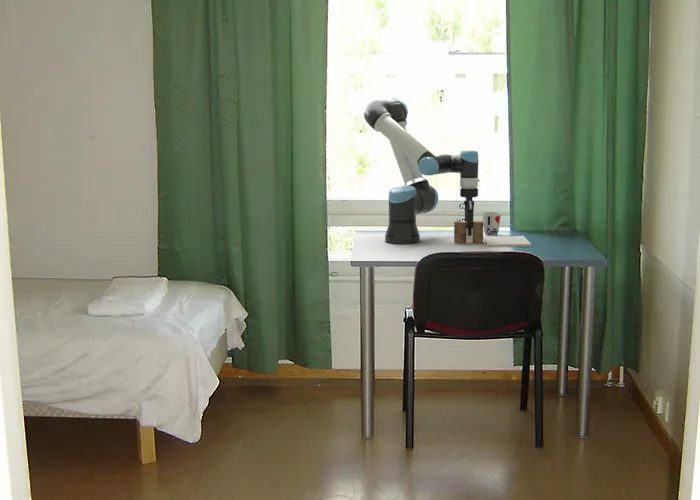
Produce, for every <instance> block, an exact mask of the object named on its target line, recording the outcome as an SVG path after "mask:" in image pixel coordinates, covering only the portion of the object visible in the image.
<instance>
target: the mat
mask: <svg viewBox="0 0 700 500" xmlns="http://www.w3.org/2000/svg"><path fill="white" fill-rule="evenodd" d="M483 240H484V241H483V243H485V245H486V246H487V248H488V247H489V248H490V247H491V248H492V247H493V248H494V247H496V248H497V247H499V248H500V247H502V248H503V247H506V248H507V247H508V248H509V247H532V246H533V245H532V243H531V242H530V241H529V240H528V239H527V238H526V237H525V236H524V235H497V236H486V235H485V236H484V235H483Z"/></svg>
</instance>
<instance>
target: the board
mask: <svg viewBox="0 0 700 500" xmlns="http://www.w3.org/2000/svg"><path fill="white" fill-rule="evenodd" d="M473 225H474V226H473V243H472V244H483V243H484V241H483V236H484V227H483V220H482V221H481V220H479V221H473ZM466 226H467V222H465V221H454V222H453V227H454V229H453V241H454V242H453V243H454V244H455V245H456V244H458V245H459V244H467V243H466V228H465V227H466Z"/></svg>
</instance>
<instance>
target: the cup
mask: <svg viewBox="0 0 700 500" xmlns="http://www.w3.org/2000/svg"><path fill="white" fill-rule="evenodd" d="M481 214H482V215H481V216H482V222H483V233H484V235H485V236H486V235H487V236H498V234H499V231H500V225H501V217H502V216H501V215H502V214H501V212H495V211H488V212H487V211H486V212H482V213H481Z"/></svg>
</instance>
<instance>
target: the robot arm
mask: <svg viewBox="0 0 700 500" xmlns="http://www.w3.org/2000/svg"><path fill="white" fill-rule="evenodd" d="M408 110H409V109H408V106H407V105H406V103H405V102H404V101H403V100H401V99H400V98H395V97H388V98H387V97H386V98H382V97H381V98H373V99H370V100H369V101H367V103H366V104H365V106H364V108H363V118H364V120H365V122H366V123H367V125H369V127H370V128H371V129H372V130H374V131H375V132H376V133H379V132H380V133H381V134H382V135H383V136H384V137H386V138H387V139H388V140H389V144H390V145H391V149H392V153H393V155H394V157H395V160H396V162H397V163H396V164H397V165H398V169H399V172H400V174H401V177H402V180H403V182H404V185H401V186H395V187H393V188H391V189H390V190H389V192H388V198H387V199H388V226H387V229H386V232H385V235H384V242H386V243H389V244H398V245H400V244H401V245H409V244H417V243H419V242H420V241H421V235H420V232H419V229H418V226H417V215H422V214H427V213H429V212H433V211H434V210H435V209H436V208H437V205H438V202H439V193H438V191H437V189H436V188H435V187H433V186H432V185H430V183H429V180H428V179H427V178H425V177H424V176H434V175H435V176H436V175H439V174H440V175H441V174H449V173H451V174H452V173H454V174H455V173H456V174H459V175H460V178H459V187H460V188H459V190H460V191H459V193H460V194H459V196H460V197H461V198H465V200H464V201H463V204H464V222H467V226H466V227H465V228H466V243H465V244H474V243H473V226H474V225H473V222H474V212H475V211H474V210H475V208H474V207H475V201H474V200H473V198H478V197H479V188H478V187H479V182H481V181H480V179H479V163H480V162H479V152H478V151H477V150H461V151H460V154H458V155H457V154H438V155H435V154H434V153H432V152H431V151H430V150H428V149H427V148H426V147H425V146H424V145H423V144H421V142H420V141H418V139H416V138H414V136H412V135H411V134H410V133H409V132H408V131H407V129H406V127H407V124H408V121H407V119H408V115H409V114H408V113H409V112H408Z"/></svg>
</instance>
